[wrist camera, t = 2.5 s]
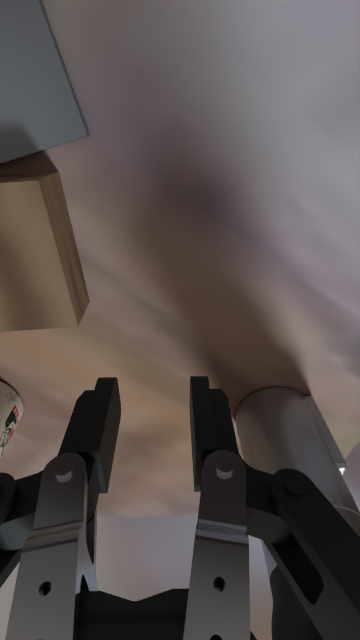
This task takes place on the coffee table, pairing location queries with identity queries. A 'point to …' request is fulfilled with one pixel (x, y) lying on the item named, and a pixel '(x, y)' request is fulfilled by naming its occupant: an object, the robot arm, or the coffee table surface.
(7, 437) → the teacup with lid
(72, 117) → the slate coaster
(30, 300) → the tan rectangular block
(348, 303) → the coffee table surface
